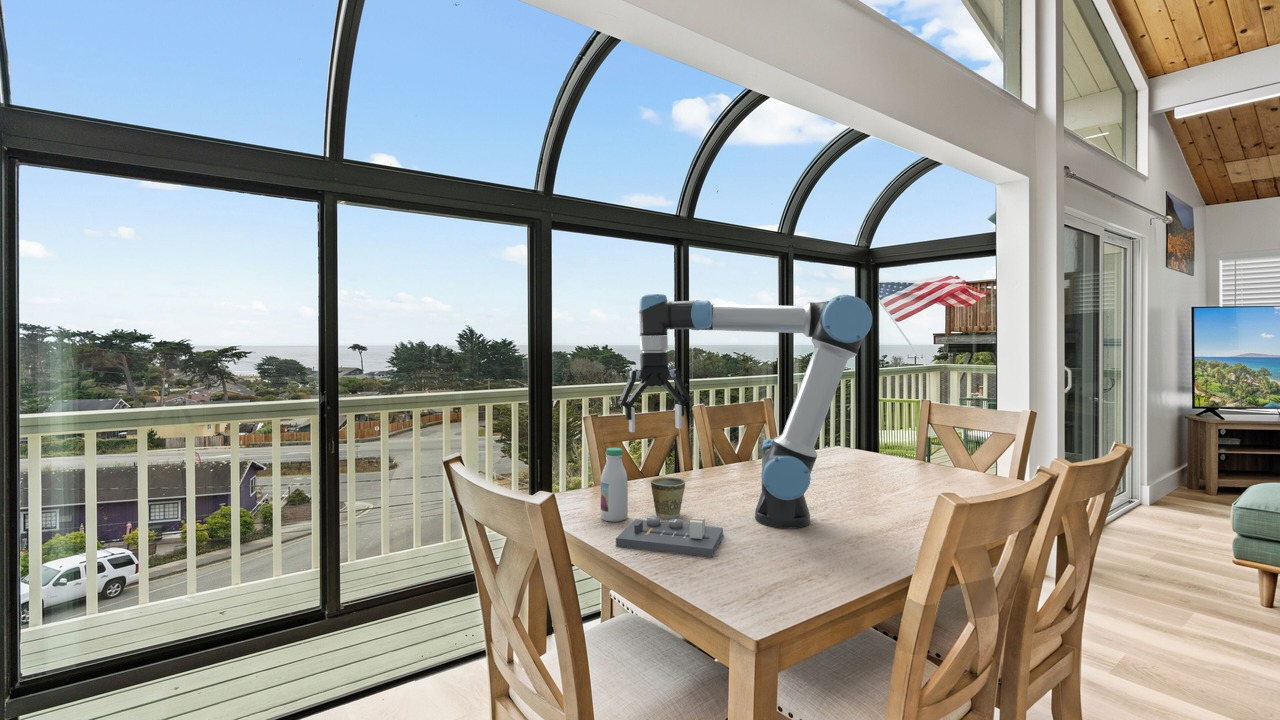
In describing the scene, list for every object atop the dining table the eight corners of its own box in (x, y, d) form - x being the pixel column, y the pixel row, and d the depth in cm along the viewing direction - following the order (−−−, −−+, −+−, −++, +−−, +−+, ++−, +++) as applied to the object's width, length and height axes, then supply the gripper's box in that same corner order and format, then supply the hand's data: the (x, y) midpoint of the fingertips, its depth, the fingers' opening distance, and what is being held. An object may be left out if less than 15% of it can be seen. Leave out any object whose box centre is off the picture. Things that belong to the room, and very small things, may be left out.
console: (722, 535, 152) (723, 520, 152) (712, 557, 137) (712, 540, 137) (635, 526, 159) (635, 511, 159) (615, 546, 144) (616, 530, 144)
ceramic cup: (679, 522, 163) (679, 486, 163) (645, 518, 166) (646, 483, 166) (691, 509, 175) (691, 476, 175) (660, 506, 179) (660, 473, 178)
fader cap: (704, 533, 146) (705, 517, 146) (701, 539, 143) (702, 522, 142) (692, 532, 147) (693, 516, 147) (689, 537, 143) (689, 521, 143)
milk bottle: (629, 514, 170) (629, 446, 169) (625, 522, 162) (626, 451, 161) (602, 513, 171) (603, 445, 170) (598, 521, 163) (598, 450, 162)
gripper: (690, 350, 165) (691, 425, 166) (605, 353, 157) (607, 431, 157) (701, 350, 158) (703, 428, 159) (614, 353, 150) (616, 435, 150)
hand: (655, 430), depth 158 cm, fingers open, 13 cm apart
